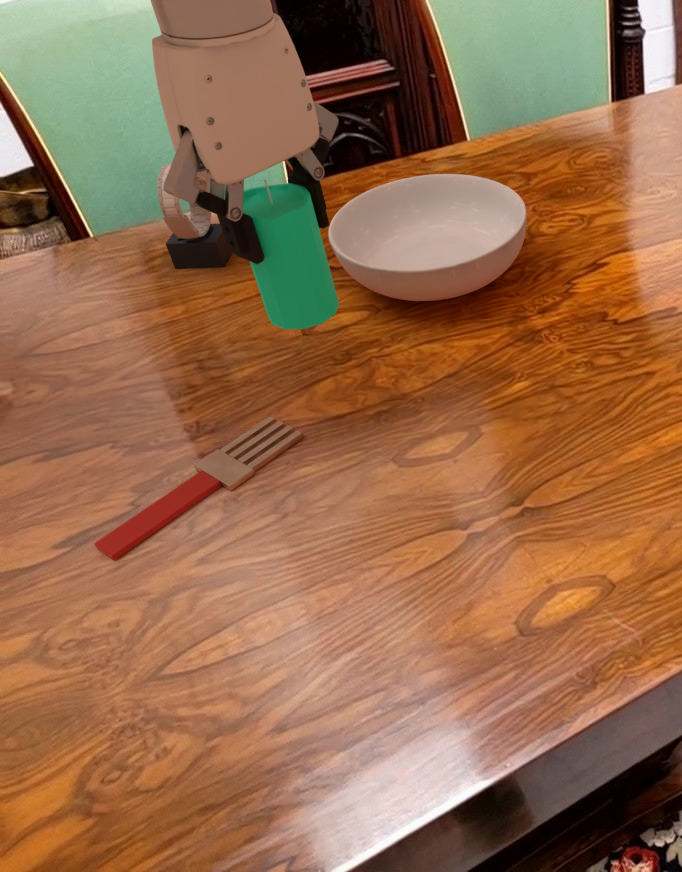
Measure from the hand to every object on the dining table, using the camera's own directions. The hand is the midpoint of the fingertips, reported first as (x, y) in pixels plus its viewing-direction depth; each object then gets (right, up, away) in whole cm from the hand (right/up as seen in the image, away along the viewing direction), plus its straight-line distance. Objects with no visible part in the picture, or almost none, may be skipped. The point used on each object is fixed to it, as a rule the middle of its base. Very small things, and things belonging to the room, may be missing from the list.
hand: (282, 238), depth 76 cm
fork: (-8, -20, +2) cm, 22 cm away
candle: (0, -5, +5) cm, 7 cm away
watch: (-21, +4, +31) cm, 38 cm away
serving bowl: (+7, +2, +28) cm, 29 cm away
